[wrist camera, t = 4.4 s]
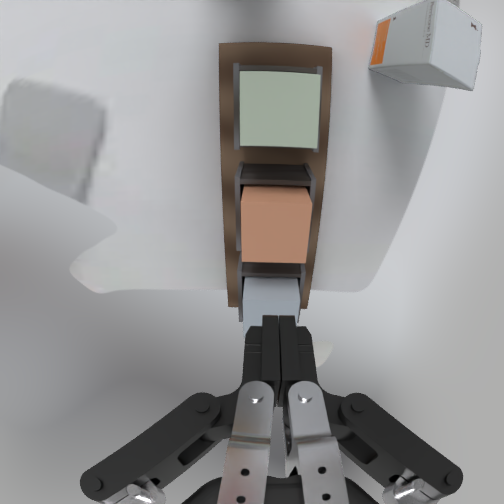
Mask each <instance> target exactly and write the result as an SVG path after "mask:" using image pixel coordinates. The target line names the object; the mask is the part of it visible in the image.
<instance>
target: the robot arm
mask: <svg viewBox="0 0 504 504" xmlns="http://www.w3.org/2000/svg"><path fill="white" fill-rule="evenodd" d="M312 345H313V344H312V337H311V334H310V332H309V331H308V329H307V328H306V327H305V326H301V327H297V326H296V321H295V315H279V319H278V315H262V326H250V328H249V329H248V331H247V333H246V335H245V349H244V363H243V376H242V383H241V385H240V387H239V388H238V389H237V390H236V391H234V392H233V393H231V394H228V395H224V396H219V397H215V396H213V395H211V394H208V393H196V394H194V395H192V396H190V397H189V398H188V399H186V400H185V401H184V402H183V403H181V404H180V405H179V406H178V407H176V408H175V409H174V410H172V411H171V412H170V413H168V414H167V415H166V416H165V417H163V418H162V419H161V420H159V421H158V422H157V423H155V424H154V425H152V426H151V427H150V428H149V429H147V430H146V431H144V432H143V433H142V434H140V435H139V436H137V437H136V438H135V439H133V440H132V441H131V442H129V443H127V444H126V445H125V446H123V447H122V448H120V449H119V450H117V451H116V452H114V453H113V454H112V455H110V456H108V457H107V458H106V459H104V460H102V461H101V462H99V463H98V464H96V465H95V466H93V467H92V468H90V469H88V470H87V471H85V472H84V473H83V474H82V476H81V479H80V486H81V489H82V491H83V493H84V494H85V495H86V496H87V497H88V498H90V499H92V500H94V501H97V502H99V503H101V504H165V501H166V497H165V494H164V492H163V490H162V488H164V487H165V486H167V485H168V484H169V483H171V482H172V481H173V480H174V479H176V478H177V477H178V476H180V475H181V474H182V473H183V472H185V471H186V470H187V469H188V468H190V467H191V466H192V465H193V464H195V463H196V462H197V461H198V460H199V459H201V458H202V457H203V456H204V455H205V454H206V453H208V452H209V451H210V450H211V449H212V448H213V447H215V446H216V445H217V444H218V443H219V442H220V441H221V440H222V439H226V438H230V439H229V442H228V447H227V453H226V459H225V464H224V470H223V475H222V477H220V478H216V479H214V480H211V481H209V482H208V483H206V484H204V485H203V486H201V487H200V488H199V489H198V490H197V491H196V492H195V493H193V494H192V495H191V496H190V497H189V498H188V499H186V500H185V501H184V502H183V503H182V504H379V503H378V502H376V501H375V500H374V499H373V498H372V497H371V496H370V495H368V494H367V493H366V492H365V491H364V490H363V489H362V488H361V487H359V486H358V485H357V484H356V483H355V482H353V481H352V480H350V479H348V478H346V477H344V472H343V468H342V462H341V457H340V452H339V449H340V450H341V451H342V452H343V453H344V454H345V455H346V456H347V457H349V458H350V459H351V460H352V461H353V462H354V463H356V464H357V465H358V466H359V467H360V468H361V469H363V470H364V471H365V472H366V473H367V474H369V475H370V476H371V477H372V478H373V479H375V480H376V481H377V482H378V483H380V484H381V485H382V486H383V487H385V489H384V491H383V496H382V497H383V501H384V502H385V504H437V502H438V501H439V500H440V499H441V498H443V497H445V496H448V495H450V494H452V493H454V492H456V491H457V490H458V489H459V488H460V486H461V484H462V481H463V473H462V471H461V469H460V468H459V467H458V466H456V465H455V464H453V463H452V462H451V461H450V460H448V459H447V458H446V457H444V456H443V455H442V454H440V453H439V452H438V451H436V450H435V449H434V448H432V447H431V446H430V445H428V444H427V443H426V442H425V441H423V440H422V439H420V438H419V437H418V436H417V435H415V434H414V433H413V432H412V431H410V430H409V429H408V428H406V427H405V426H404V425H403V424H401V423H400V422H399V421H397V420H396V419H395V418H394V417H393V416H391V415H390V414H388V413H387V412H386V411H385V410H384V409H383V408H381V407H380V406H379V405H378V404H376V403H375V402H374V401H373V400H371V399H370V398H369V397H368V396H366V395H364V394H361V393H352V394H350V395H348V396H346V397H341V396H337V395H332V394H329V393H327V392H326V391H324V390H323V389H322V388H321V387H320V385H319V383H318V381H317V374H316V365H315V358H314V351H313V346H312ZM276 404H277V405H278V407H283V418H282V428H283V437H284V447H285V457H286V461H285V472H286V478H276V477H271V476H267V470H268V460H269V452H270V435H271V425H272V417H273V411H274V407H276Z"/></svg>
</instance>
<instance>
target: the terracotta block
mask: <svg viewBox="0 0 504 504" xmlns="http://www.w3.org/2000/svg"><path fill="white" fill-rule="evenodd" d="M311 213H312V202H311V199H310V197H309V194H308V191H307V189H306V186H296V185H267V184H244V189H243V193H242V198H241V248H242V262H274V263H306V256H307V248H308V240H309V231H310V222H311Z"/></svg>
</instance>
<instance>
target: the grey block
mask: <svg viewBox="0 0 504 504" xmlns="http://www.w3.org/2000/svg"><path fill="white" fill-rule="evenodd" d="M299 307H300V294H299V287H298V280H297V278H296V277H253V276H245V282H244V291H243V331H244V332H243V333H244V337H245V335H246V333H247V331H248V329H249V328H250V326H262V315H278V319H279V315H295V321H296V326H297V320H298V314H299Z"/></svg>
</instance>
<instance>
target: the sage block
mask: <svg viewBox="0 0 504 504" xmlns="http://www.w3.org/2000/svg"><path fill="white" fill-rule="evenodd" d="M320 78H321V75H318V74H307V73H294V72H274V71H240V146H282V147H303V148H317V142H318V125H319V106H320Z"/></svg>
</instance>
